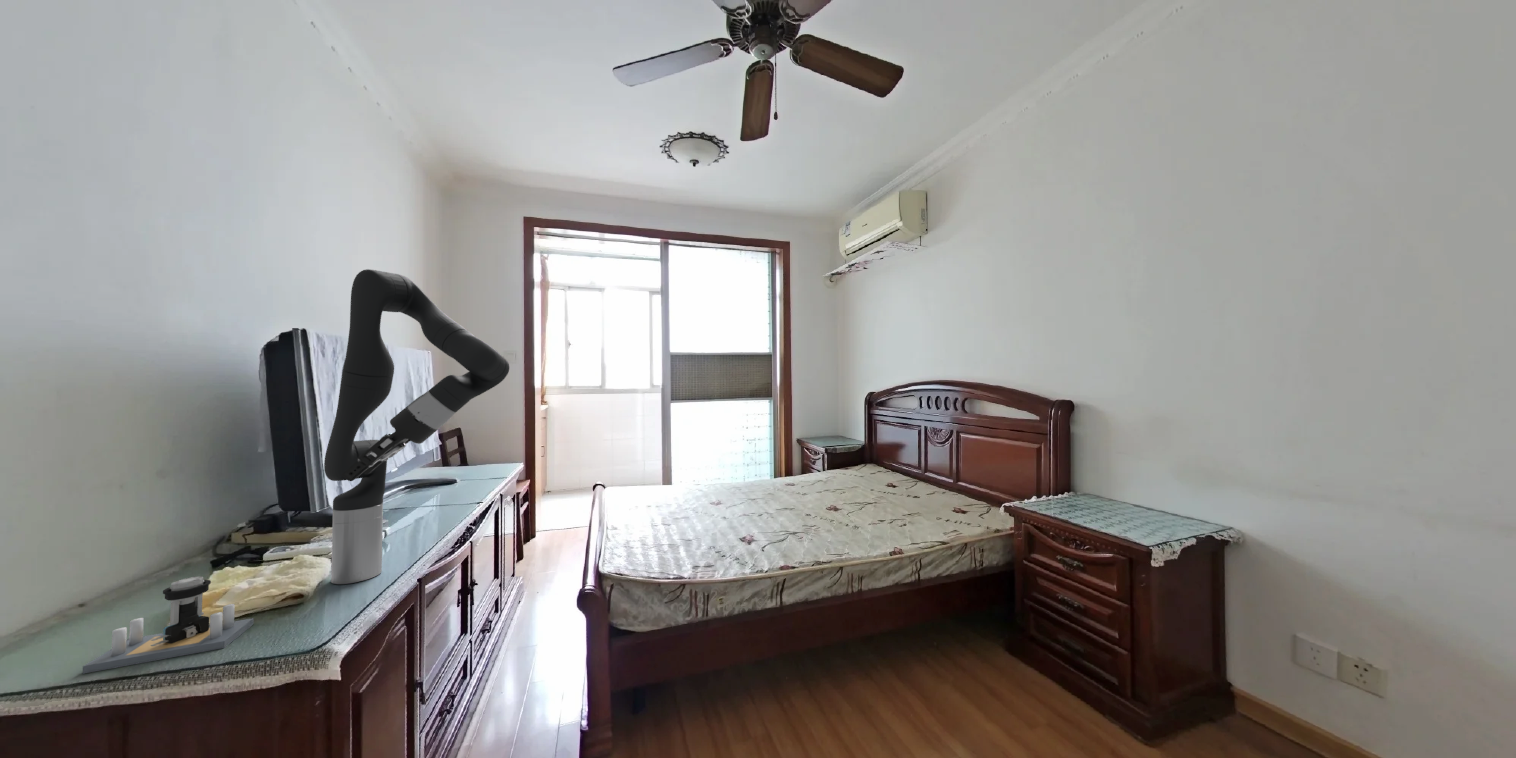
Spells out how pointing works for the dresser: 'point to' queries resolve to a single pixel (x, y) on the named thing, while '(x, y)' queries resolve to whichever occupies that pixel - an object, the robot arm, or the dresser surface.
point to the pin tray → (142, 651)
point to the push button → (185, 609)
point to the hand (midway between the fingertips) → (354, 474)
